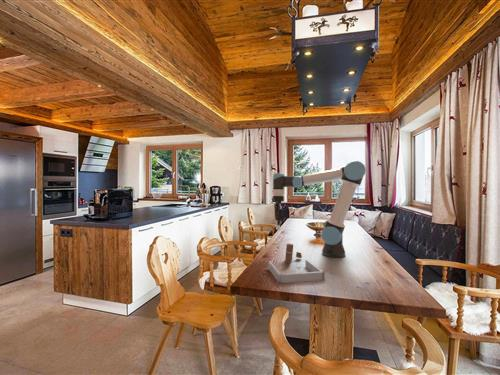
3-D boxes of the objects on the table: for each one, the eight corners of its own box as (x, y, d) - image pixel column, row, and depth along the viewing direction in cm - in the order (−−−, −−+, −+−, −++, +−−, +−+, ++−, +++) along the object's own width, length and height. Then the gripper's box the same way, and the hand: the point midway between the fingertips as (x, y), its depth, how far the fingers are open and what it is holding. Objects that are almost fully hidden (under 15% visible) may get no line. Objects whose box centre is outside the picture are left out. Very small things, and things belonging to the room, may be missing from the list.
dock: (307, 266, 149) (307, 259, 149) (324, 280, 128) (324, 272, 128) (268, 268, 145) (268, 261, 145) (279, 283, 124) (279, 275, 124)
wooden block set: (292, 267, 148) (293, 250, 147) (278, 263, 152) (280, 247, 152) (301, 259, 164) (303, 244, 163) (289, 256, 168) (290, 241, 167)
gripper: (270, 195, 180) (270, 227, 181) (275, 196, 167) (275, 231, 168) (280, 195, 182) (280, 227, 182) (286, 195, 169) (286, 231, 169)
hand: (278, 229), depth 175 cm, fingers closed
